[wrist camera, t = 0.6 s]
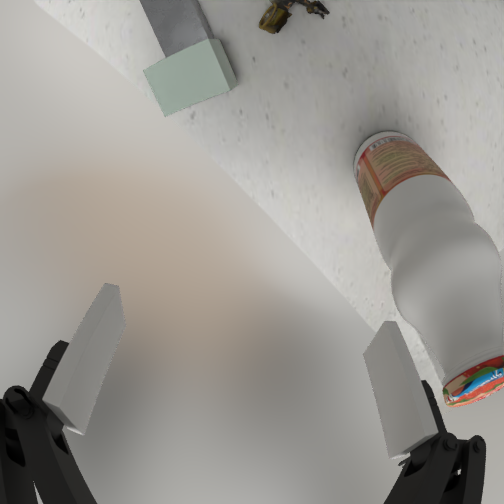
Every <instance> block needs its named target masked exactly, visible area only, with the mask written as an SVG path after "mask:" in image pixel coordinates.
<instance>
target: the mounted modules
mask: <svg viewBox="0 0 504 504" xmlns="http://www.w3.org/2000/svg"><path fill="white" fill-rule="evenodd" d="M143 72H144V74H145V76H146V78H147V80H148V82H149V84H150V87H151V89H152V91H153V93H154V95H155V97H156V99H157V101H158V103H159V105H160V107H161V110H162V112H163V114H164V116H165V117H166V116H168V115H170V114H173V113H175V112H177V111H179V110H182V109H184V108H186V107H189V106H191V105H193V104H196V103H198V102H201V101H203V100H206V99H209V98H211V97H214V96H216V95H219V94H222V93H225V92H228V91H230V90H232V89H233V88H234V87H236V86H237V85H238V82H237V80H236V78H235V75H234V73H233V70H232V68H231V66H230V63H229V61H228V58H227V56H226V54H225V51H224V49H223V47H222V44H221V42H220V40H219V39H206V40H204V41H201V42H199V43H197V44H194V45H192V46H190V47H188V48H186V49H183V50H181V51H179V52H177V53H175V54H173V55H171V56H169V57H167V58H165V59H163V60H161V61H159V62H157V63H156V64H154V65H152V66H150V67H148V68H147V69H145V70H143Z"/></svg>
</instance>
